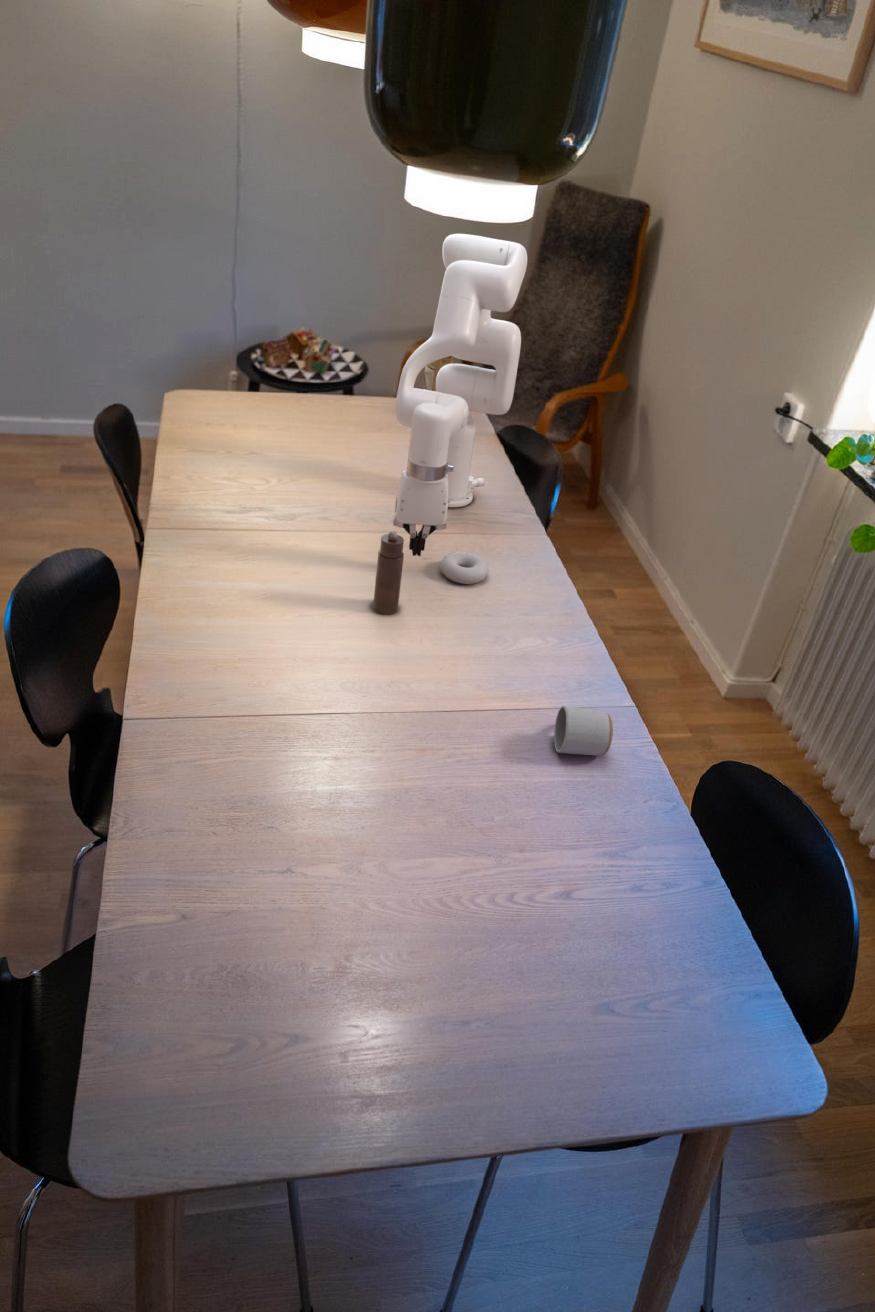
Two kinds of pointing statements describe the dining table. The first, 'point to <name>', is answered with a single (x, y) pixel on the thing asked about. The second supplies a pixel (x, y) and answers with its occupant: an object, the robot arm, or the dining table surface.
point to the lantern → (435, 371)
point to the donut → (464, 567)
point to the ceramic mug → (582, 731)
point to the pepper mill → (388, 574)
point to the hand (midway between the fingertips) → (416, 552)
